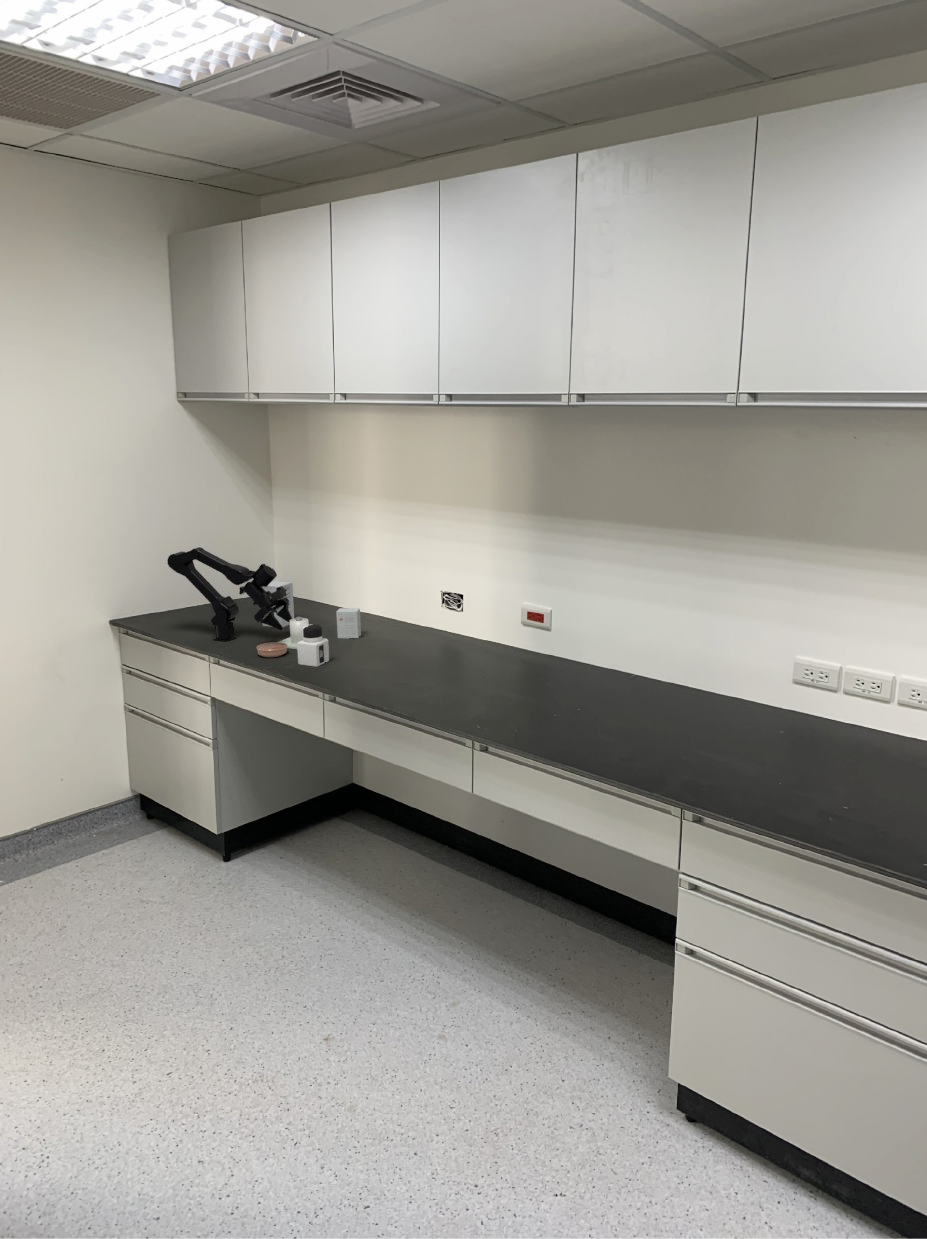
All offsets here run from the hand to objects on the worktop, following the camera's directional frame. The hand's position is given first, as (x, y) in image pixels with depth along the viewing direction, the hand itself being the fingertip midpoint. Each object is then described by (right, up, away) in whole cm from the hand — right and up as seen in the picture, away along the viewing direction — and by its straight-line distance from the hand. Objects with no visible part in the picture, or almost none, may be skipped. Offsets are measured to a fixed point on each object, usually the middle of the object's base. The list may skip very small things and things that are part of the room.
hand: (287, 626), depth 323 cm
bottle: (+4, -6, 0) cm, 7 cm away
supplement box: (-9, 0, +28) cm, 30 cm away
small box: (+21, -4, +9) cm, 24 cm away
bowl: (-3, -10, -14) cm, 17 cm away
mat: (+5, -6, 0) cm, 8 cm away
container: (+14, -12, -23) cm, 30 cm away
